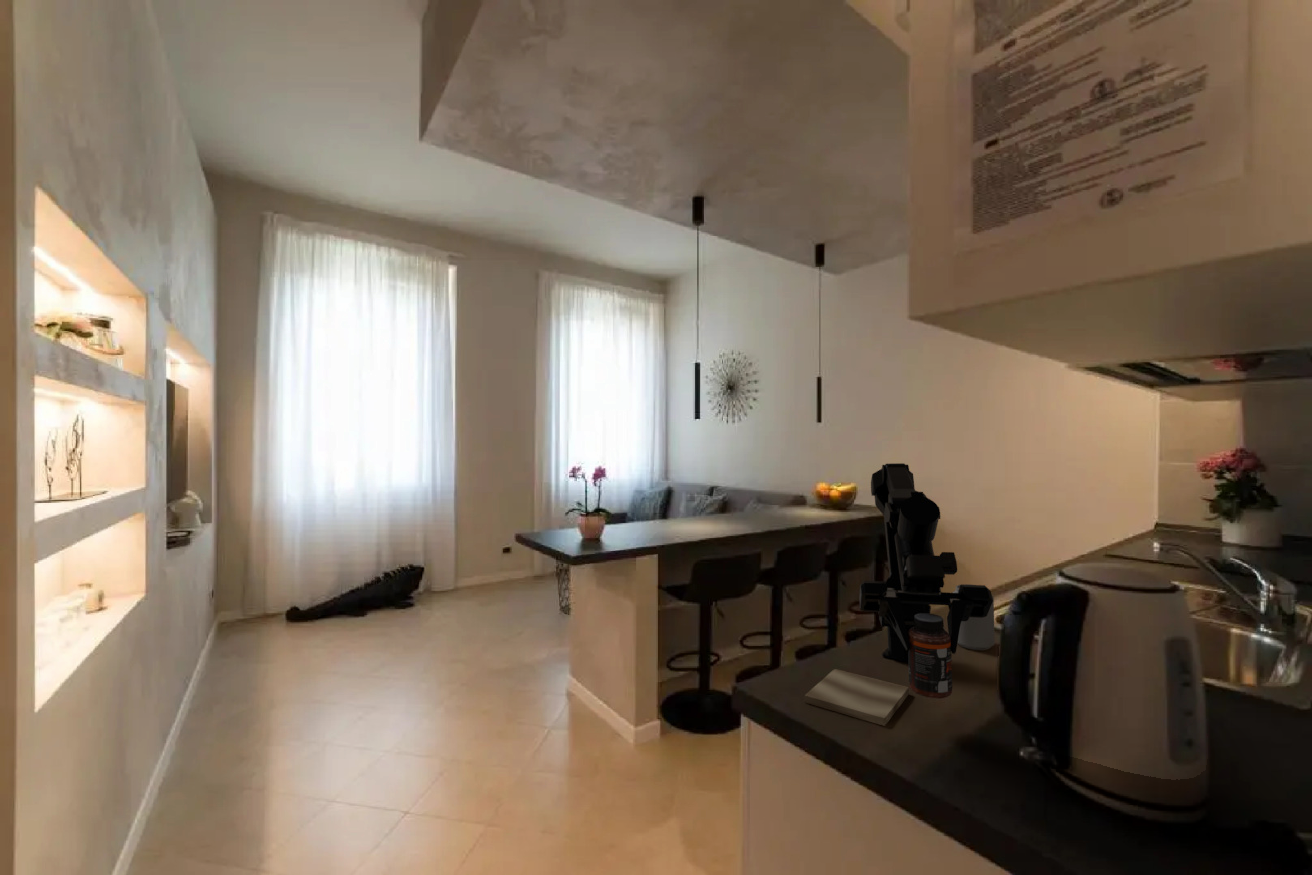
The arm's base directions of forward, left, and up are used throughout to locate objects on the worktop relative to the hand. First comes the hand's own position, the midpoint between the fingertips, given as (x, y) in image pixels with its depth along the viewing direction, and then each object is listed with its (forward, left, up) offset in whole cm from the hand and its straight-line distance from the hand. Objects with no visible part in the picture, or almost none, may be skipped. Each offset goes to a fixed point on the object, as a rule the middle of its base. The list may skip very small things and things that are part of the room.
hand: (930, 651), depth 84 cm
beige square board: (-4, -13, -12) cm, 18 cm away
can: (-41, -2, -12) cm, 43 cm away
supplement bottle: (-1, -1, -7) cm, 7 cm away
